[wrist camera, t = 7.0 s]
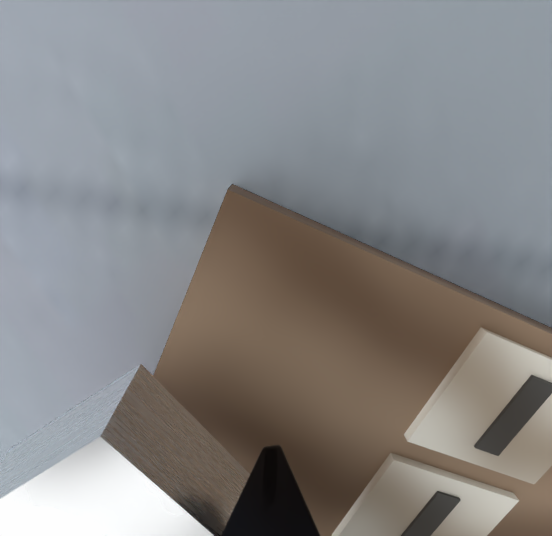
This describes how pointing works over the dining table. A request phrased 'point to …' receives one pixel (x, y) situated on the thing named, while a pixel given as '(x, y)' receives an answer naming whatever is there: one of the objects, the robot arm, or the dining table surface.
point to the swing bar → (120, 470)
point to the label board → (364, 380)
